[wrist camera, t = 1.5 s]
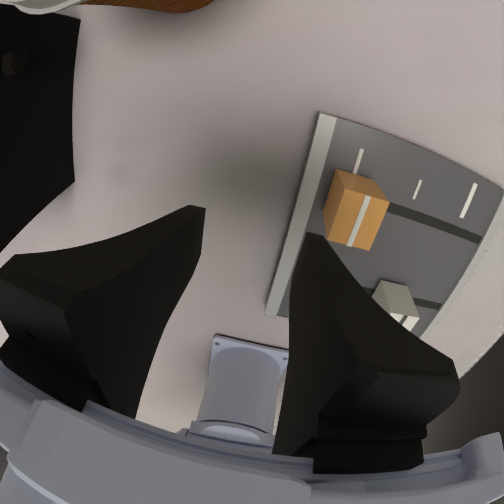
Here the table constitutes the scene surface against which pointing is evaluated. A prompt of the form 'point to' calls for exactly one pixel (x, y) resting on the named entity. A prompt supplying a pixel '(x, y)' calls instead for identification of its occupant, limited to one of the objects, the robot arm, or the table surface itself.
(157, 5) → the disposable coffee cup
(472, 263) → the fader board
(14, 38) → the uninterruptible power supply
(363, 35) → the table surface
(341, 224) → the block
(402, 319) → the fader
